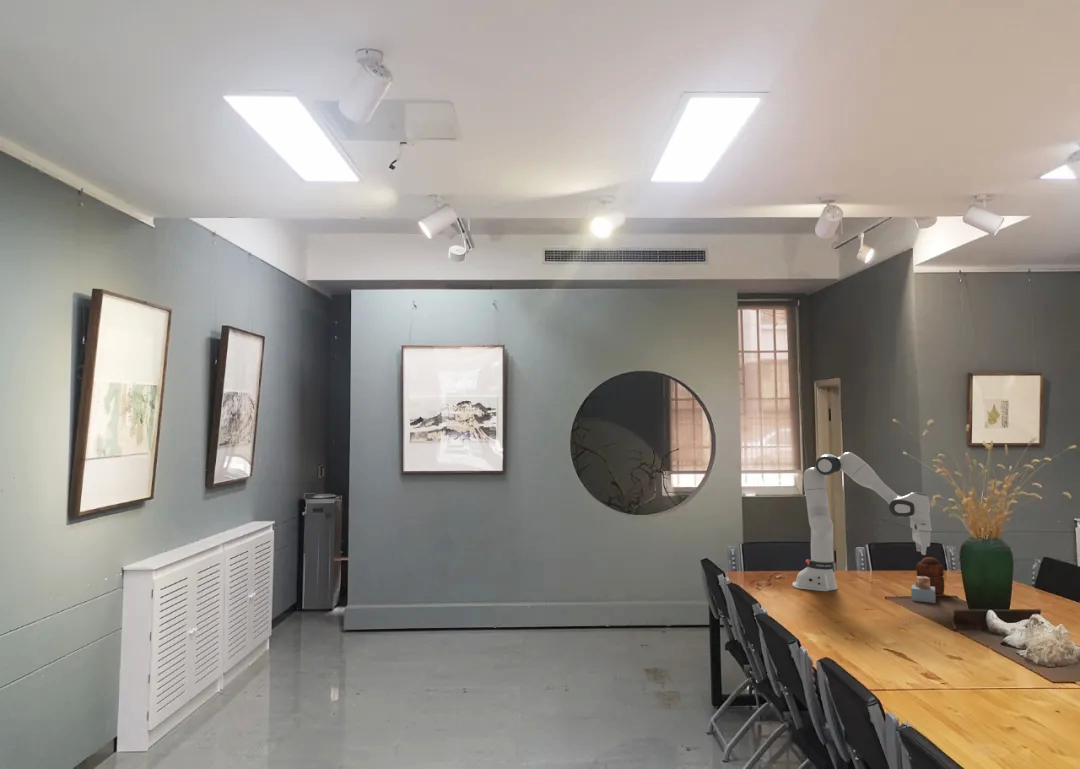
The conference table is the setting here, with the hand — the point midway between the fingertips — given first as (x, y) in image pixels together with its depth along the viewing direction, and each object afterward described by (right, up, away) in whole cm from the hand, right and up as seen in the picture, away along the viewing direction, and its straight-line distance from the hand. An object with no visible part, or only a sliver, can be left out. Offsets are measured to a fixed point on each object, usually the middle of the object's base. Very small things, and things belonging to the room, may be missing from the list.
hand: (921, 552), depth 328 cm
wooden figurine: (+12, -24, +12) cm, 29 cm away
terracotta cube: (0, -17, -1) cm, 17 cm away
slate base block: (0, -23, -2) cm, 23 cm away
